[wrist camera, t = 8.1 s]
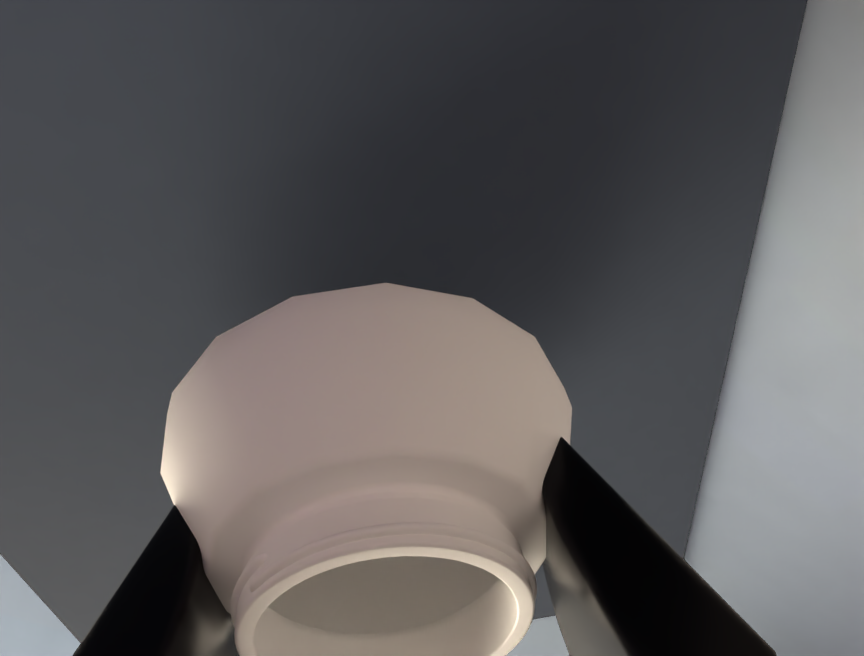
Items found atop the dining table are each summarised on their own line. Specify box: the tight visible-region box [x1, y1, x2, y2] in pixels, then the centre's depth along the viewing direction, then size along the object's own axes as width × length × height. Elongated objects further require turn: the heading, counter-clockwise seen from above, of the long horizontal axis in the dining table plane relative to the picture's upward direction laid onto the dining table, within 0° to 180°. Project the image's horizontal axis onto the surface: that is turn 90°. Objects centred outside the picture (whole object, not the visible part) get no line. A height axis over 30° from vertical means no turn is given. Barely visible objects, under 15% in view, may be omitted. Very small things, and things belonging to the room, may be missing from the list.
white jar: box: [160, 283, 572, 656], centre depth 8 cm, size 5×3×5 cm
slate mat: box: [0, 0, 807, 643], centre depth 10 cm, size 16×12×1 cm
